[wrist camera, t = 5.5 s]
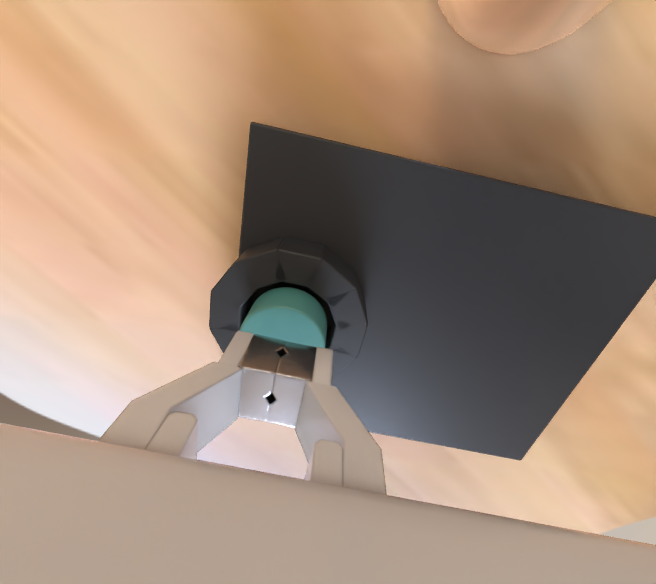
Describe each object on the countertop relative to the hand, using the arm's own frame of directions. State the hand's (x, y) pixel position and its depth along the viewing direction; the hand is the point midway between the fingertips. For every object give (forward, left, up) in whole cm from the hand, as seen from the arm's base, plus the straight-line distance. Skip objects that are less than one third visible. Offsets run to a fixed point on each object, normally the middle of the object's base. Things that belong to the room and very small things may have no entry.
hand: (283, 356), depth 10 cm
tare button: (0, 0, -2) cm, 2 cm away
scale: (-5, 0, -5) cm, 7 cm away
